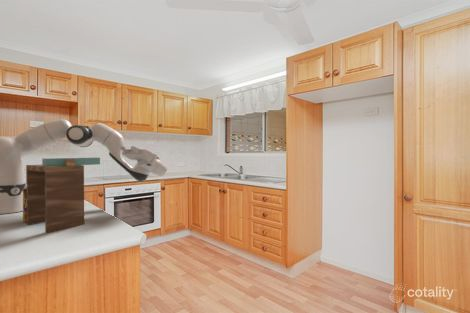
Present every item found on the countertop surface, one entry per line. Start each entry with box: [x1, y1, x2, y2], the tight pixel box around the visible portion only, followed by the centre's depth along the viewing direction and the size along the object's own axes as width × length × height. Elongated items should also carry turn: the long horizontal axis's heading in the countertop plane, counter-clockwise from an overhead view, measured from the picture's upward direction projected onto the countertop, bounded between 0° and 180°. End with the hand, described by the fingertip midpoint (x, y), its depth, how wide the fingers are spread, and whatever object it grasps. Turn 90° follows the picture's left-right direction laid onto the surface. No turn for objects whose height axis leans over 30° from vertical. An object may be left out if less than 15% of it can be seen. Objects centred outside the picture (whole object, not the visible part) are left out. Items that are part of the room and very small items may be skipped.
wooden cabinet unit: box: [25, 159, 85, 233], centre depth 109 cm, size 20×14×29 cm
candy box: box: [22, 188, 27, 223], centre depth 115 cm, size 9×4×15 cm, turn 123°
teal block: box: [41, 157, 101, 167], centre depth 110 cm, size 3×22×3 cm, turn 148°
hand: (126, 147), depth 132 cm, fingers open, 8 cm apart
